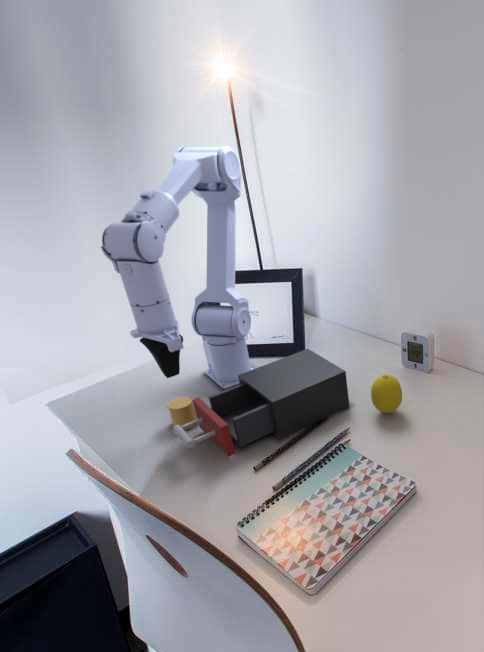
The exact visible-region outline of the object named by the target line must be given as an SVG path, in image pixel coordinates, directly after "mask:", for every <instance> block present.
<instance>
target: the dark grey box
mask: <svg viewBox="0 0 484 652" xmlns="http://www.w3.org/2000/svg"><path fill="white" fill-rule="evenodd" d="M238 378H239V383H240V384H242V383H245V384H246V385H247V386H248V387H250V388H251V389H252V390H253V391H255V392H256V393H257V394H258V395H260V396H261V397H262V398H263V399H265V400H266V401H267V402H268V403H270V404H271V407H272V412H273V417H274V422H275V427H276V431H273V432H271V433H270V434H272V435H273V436H275V437H276V438H277V439H278V440H283V439H284V438H286V437H289V436H291V435H294V434H295V433H297V432H299V431H301V430H303V429H305V428H308V427H309V426H312V425H314V424H316V423H318V422H320V421H321V420H324V419H326V418H328V417H330V416H332V415H335V414H336V413H339V412H341V411H343V410H345V409H347V408H349V407H350V399H349V390H348V389H349V387H348V381H347V373H346V370H344V369H343V368H341V367H340V366H338V365H337V364H334V363H333V362H331V361H329V360H328V359H326V358H325V357H323V356H322V355H319V354H317V352H314V351H313V350H311V349H310V348H306V349H302V350H300V351H298V352H295V353H293V354H290V355H288V356H285V357H282V358H279V359H277V360H275V361H272V362H269V363H266V364H264V365H261V366H259V367H256V368H254V369H253V370H250V371H248V372H245V373H243V374H240V375H238Z"/></svg>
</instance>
